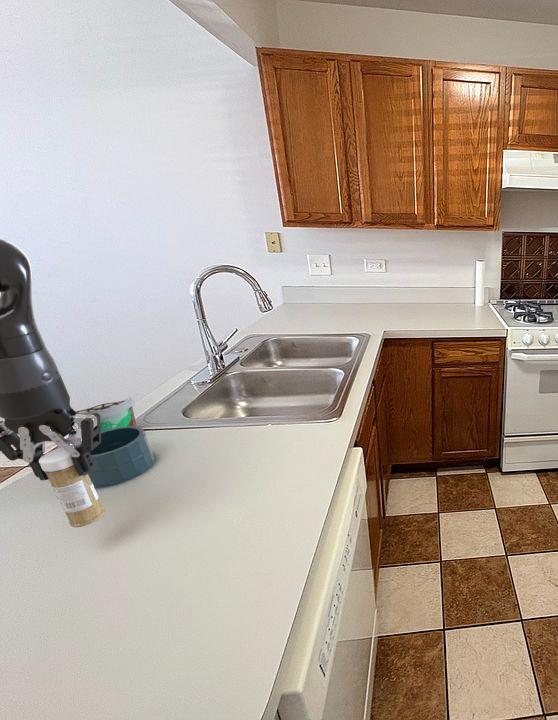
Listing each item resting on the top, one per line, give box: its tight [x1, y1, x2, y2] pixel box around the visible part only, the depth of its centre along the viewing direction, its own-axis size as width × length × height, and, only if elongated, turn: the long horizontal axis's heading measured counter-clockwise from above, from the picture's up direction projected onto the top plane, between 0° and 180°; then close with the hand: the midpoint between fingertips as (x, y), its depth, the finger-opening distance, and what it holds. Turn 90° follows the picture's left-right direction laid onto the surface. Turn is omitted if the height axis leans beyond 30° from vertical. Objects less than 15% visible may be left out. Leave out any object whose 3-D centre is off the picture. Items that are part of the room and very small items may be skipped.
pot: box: [74, 426, 155, 489], centre depth 91 cm, size 13×13×8 cm
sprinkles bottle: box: [39, 447, 106, 528], centre depth 66 cm, size 5×5×13 cm
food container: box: [75, 395, 138, 432], centre depth 102 cm, size 12×6×10 cm, turn 129°
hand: (67, 474), depth 65 cm, fingers closed on sprinkles bottle, 4 cm apart
